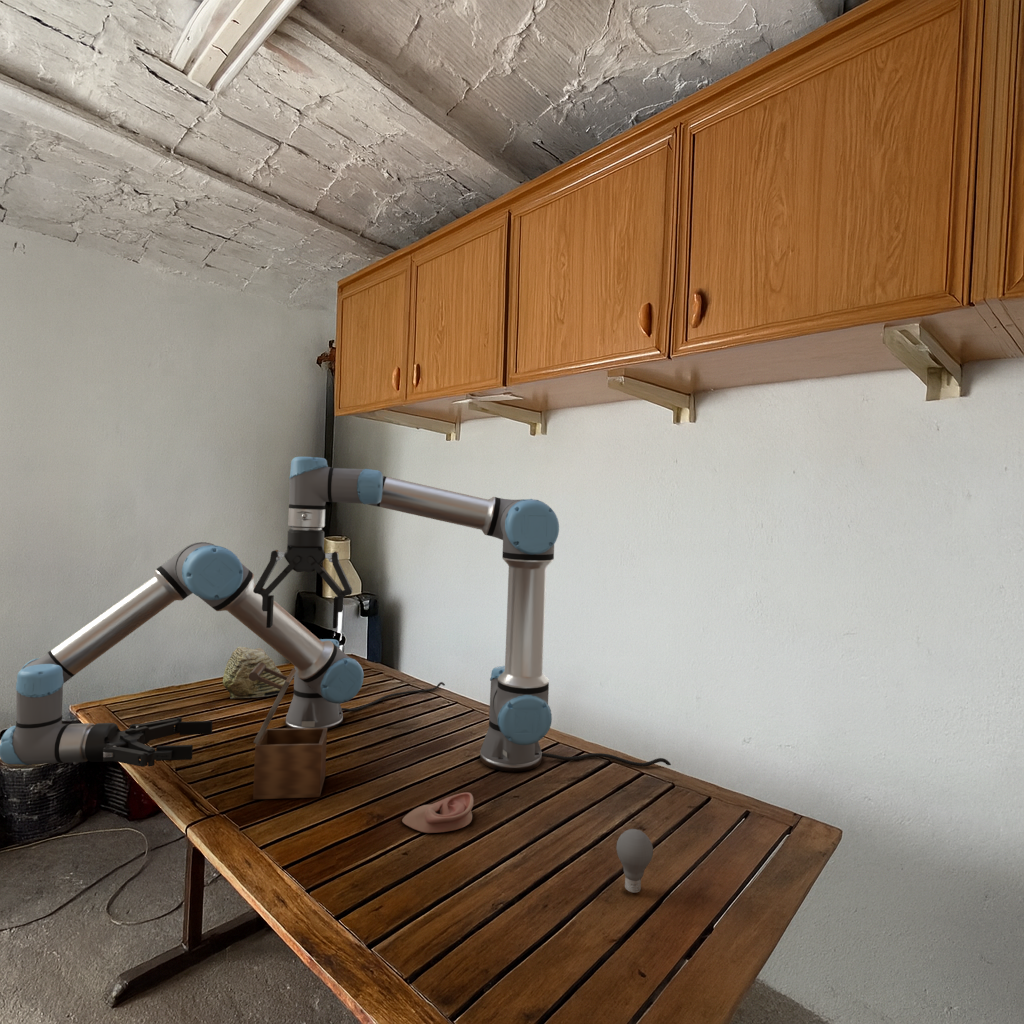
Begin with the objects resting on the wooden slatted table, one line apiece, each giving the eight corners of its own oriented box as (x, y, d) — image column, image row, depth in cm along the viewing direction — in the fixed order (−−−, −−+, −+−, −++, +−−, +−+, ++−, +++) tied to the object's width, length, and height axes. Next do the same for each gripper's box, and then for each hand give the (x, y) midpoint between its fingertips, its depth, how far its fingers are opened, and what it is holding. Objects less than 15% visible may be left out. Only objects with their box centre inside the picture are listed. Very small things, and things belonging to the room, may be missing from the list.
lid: (296, 670, 141) (263, 655, 140) (289, 682, 132) (252, 666, 131) (267, 727, 141) (232, 712, 139) (257, 744, 131) (220, 729, 130)
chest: (325, 777, 143) (327, 727, 143) (319, 797, 134) (321, 744, 133) (263, 778, 141) (265, 728, 141) (253, 799, 131) (255, 745, 131)
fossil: (218, 695, 195) (220, 647, 195) (278, 685, 208) (279, 640, 207) (228, 703, 189) (230, 653, 188) (289, 692, 201) (290, 645, 201)
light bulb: (610, 879, 108) (613, 822, 108) (644, 879, 109) (647, 822, 109) (619, 902, 102) (622, 840, 102) (655, 901, 103) (658, 840, 103)
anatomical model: (396, 808, 122) (417, 782, 133) (395, 828, 122) (416, 801, 133) (463, 818, 119) (478, 791, 130) (462, 839, 119) (477, 810, 131)
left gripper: (118, 737, 142) (218, 734, 146) (59, 788, 118) (181, 783, 122) (118, 704, 142) (219, 702, 146) (59, 748, 118) (182, 744, 121)
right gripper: (240, 527, 131) (237, 630, 131) (364, 531, 135) (360, 630, 135) (249, 525, 138) (245, 622, 138) (366, 529, 142) (362, 623, 143)
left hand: (202, 739), depth 134 cm, fingers open, 13 cm apart
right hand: (302, 627), depth 137 cm, fingers open, 13 cm apart
